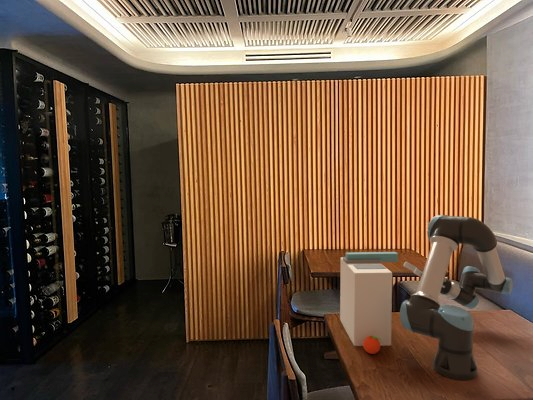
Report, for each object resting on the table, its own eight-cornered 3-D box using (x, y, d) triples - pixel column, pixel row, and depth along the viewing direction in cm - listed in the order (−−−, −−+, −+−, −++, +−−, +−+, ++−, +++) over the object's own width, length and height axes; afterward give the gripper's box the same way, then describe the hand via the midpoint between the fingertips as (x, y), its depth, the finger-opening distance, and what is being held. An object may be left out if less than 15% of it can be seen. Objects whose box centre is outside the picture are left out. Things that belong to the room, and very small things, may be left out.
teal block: (395, 260, 195) (395, 251, 194) (397, 261, 191) (398, 253, 190) (345, 260, 194) (345, 252, 194) (347, 262, 190) (347, 254, 190)
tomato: (382, 350, 169) (383, 334, 169) (383, 358, 163) (383, 341, 162) (363, 348, 171) (363, 332, 171) (362, 355, 165) (362, 339, 164)
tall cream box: (371, 319, 204) (372, 254, 201) (391, 345, 174) (392, 269, 172) (340, 319, 204) (340, 254, 201) (354, 346, 174) (354, 269, 171)
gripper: (455, 303, 182) (415, 281, 181) (432, 287, 207) (396, 267, 206) (464, 289, 182) (424, 266, 180) (439, 274, 206) (404, 254, 205)
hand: (409, 266), depth 193 cm, fingers open, 13 cm apart
